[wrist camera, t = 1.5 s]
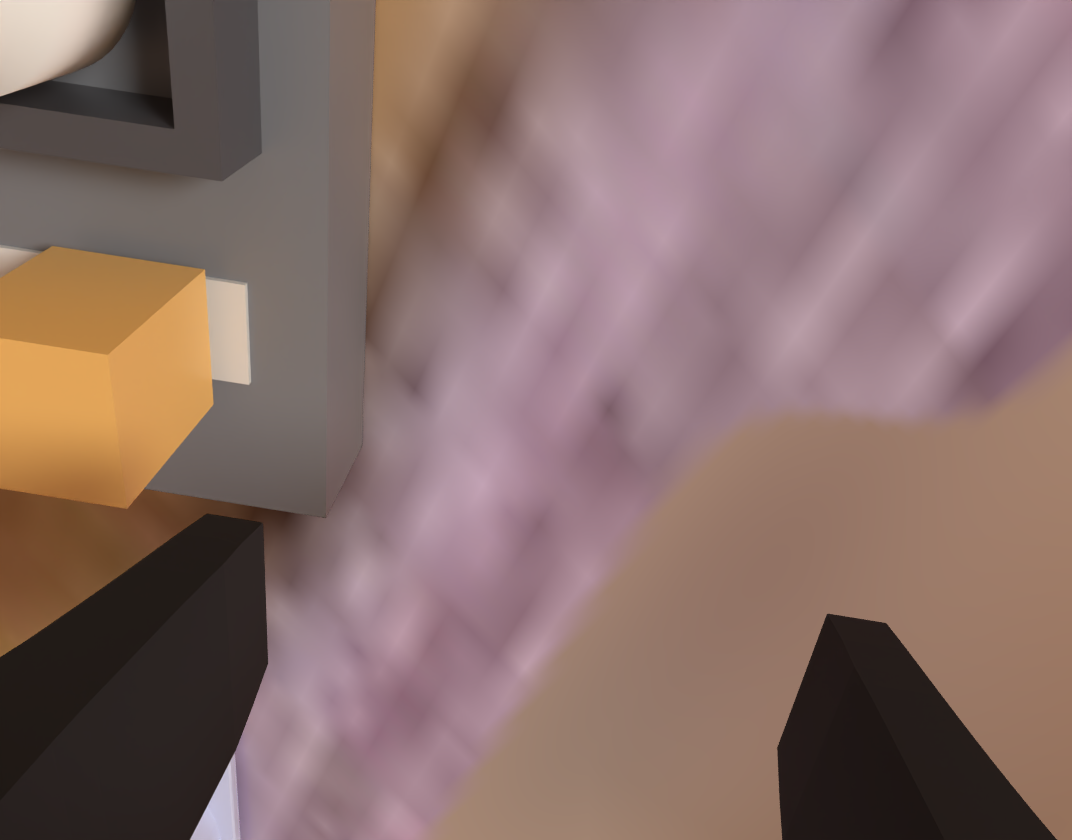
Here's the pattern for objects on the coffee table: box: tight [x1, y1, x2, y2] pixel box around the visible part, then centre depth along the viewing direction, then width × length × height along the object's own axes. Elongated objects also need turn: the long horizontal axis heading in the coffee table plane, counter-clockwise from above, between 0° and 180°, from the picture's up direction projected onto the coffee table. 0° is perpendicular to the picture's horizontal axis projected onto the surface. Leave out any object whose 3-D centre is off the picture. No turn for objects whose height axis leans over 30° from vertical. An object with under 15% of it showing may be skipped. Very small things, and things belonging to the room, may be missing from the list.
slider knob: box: [0, 246, 214, 509], centre depth 14 cm, size 2×2×3 cm
